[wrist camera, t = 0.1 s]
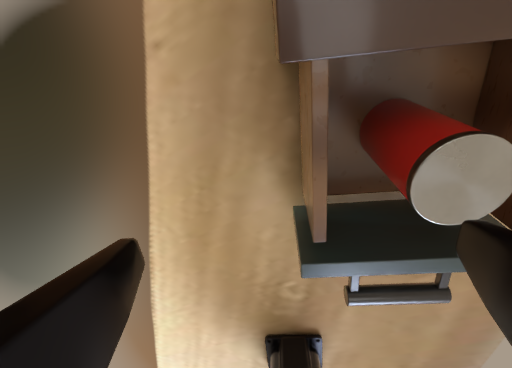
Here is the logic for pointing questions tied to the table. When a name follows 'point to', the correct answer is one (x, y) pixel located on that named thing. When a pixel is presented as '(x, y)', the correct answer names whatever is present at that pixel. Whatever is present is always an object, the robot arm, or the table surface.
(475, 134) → the tin
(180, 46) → the table surface
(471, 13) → the desk unit
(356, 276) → the drawer
